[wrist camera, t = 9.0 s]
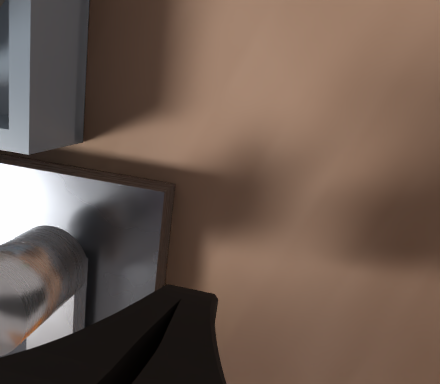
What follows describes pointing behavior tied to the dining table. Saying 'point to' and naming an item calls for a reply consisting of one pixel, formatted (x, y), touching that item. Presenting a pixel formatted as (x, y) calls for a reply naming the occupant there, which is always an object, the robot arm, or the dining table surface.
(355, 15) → the dining table surface
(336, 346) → the dining table surface
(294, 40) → the dining table surface
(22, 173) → the crank plate
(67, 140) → the tray
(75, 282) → the crank
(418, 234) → the dining table surface
